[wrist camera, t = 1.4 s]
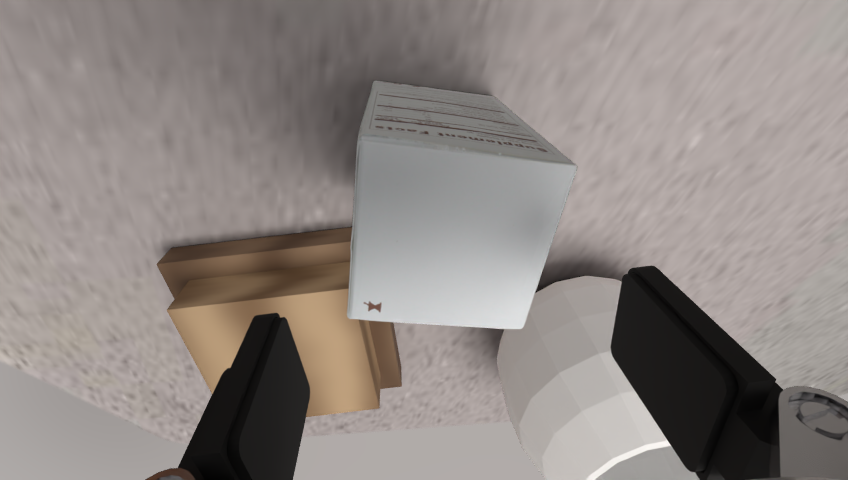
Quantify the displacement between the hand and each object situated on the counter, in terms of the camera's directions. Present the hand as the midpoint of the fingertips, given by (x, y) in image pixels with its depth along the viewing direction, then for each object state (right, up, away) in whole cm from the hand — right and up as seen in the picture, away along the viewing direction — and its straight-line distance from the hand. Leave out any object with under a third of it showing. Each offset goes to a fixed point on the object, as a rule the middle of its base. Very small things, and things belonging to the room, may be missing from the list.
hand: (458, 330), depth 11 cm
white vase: (+11, -4, +22) cm, 25 cm away
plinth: (-11, -3, +20) cm, 23 cm away
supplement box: (-1, +8, +14) cm, 16 cm away
